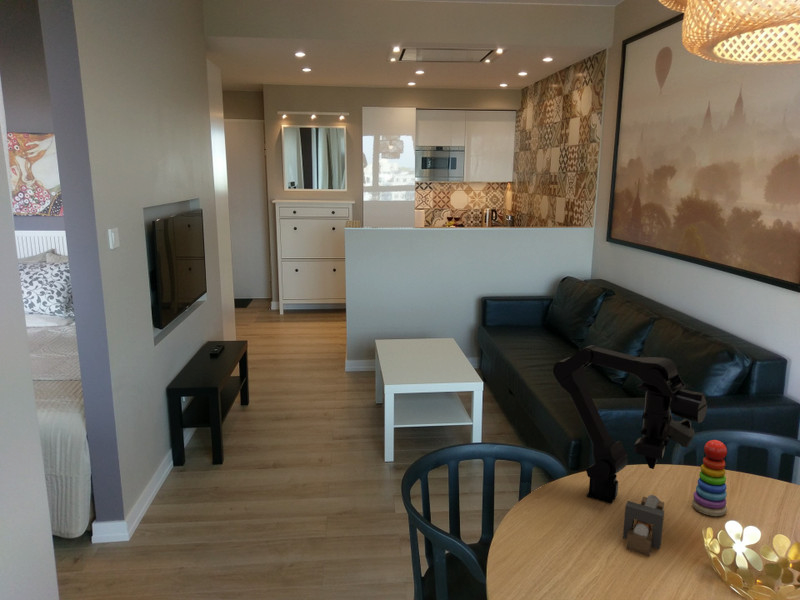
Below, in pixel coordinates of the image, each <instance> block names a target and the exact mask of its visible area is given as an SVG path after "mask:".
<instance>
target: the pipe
mask: <svg viewBox="0 0 800 600" xmlns="http://www.w3.org/2000/svg"><path fill="white" fill-rule="evenodd" d="M640 504H641V505H644V506H648V507H651V508H655V509H659V510H662V511H665V510H664V508H665V502H664V501H661V500H660V498H659V497H657V496H656V495H654V494H650V495H647V497H646V496H642V498H641V500H640ZM652 529H653V525H652V524H649V523H645V522H642V521H639V520H636V521H635V522H634V528H633V529H629V532H628V535H627V539H626V548H625V549H626V550H629V551H630V552H634V553H638V554H641V555H643V556H647V557H650V556H651V553H652V548H653V547H652V539H653V535H652V534H651V533H652Z"/></svg>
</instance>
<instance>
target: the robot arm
mask: <svg viewBox="0 0 800 600" xmlns="http://www.w3.org/2000/svg"><path fill="white" fill-rule="evenodd" d="M592 364H594V365H597V366H601V367H605V368H609V369H612V370H617V371H620V372H623V373H628V374H630V375H632V376H635V377H636V378H638V379H639V380H640V381H641V382H642V383H641V384H639V385H637V389H638V390H641V391H645V399H644V400H645V401H644V411H643V413H642V418H641V419H643V423H642V427H641V429H640V434H641V435H642V437H639V438H637V439H636V441H635V443H634V446H633V453H634V454H636V455H641V456H644V458H645V461H646V463H647V466H648V468H649V469H652V470H654V469H655V467H656V465H657V462H658V460H662V459H663V457H664V454H665V452H666V450H667V448H668V445H669V442H670V440H672V441H673V442H675V443H677V444H678V445H680V446H681V447H683V448H688V447H689V446H690V444H691V442H692V441H693V439H694V436H695V433H696V432H695V428H692V421H693V422H695V423H699V424H701V423H702V422H703V421H704V420H705V417H706V416H707V412H708V411H707V410H708V404H707V399H706V394H705V393H704V392H700V391H693V390H689V389H686V386H687V385H686V384H685V382H684V381H683V379H682V377H681V376H680V374H679V372H678V367H677V365H676V364H675V362H674V361H673V360H672V359H670V358H668V357H656V356H655V357H654V356H650V357H649V356H648V357H647V356H646V357H643V356H642V357H640V356H635V355H631V354H627V353H624V352H623V353H622V352H619V351H616V350H615V351H614V350H611V349H607V348H603V347H599V346H597V345H595V344H590V345H588V346H586V347H583V348H582V349H581V350H580V351H578V352H577V353H575V354H574V355H573V356H569V357H567V358H564V359H562V360H559V361H557V362H556V363H555V364H554V365H553V368H552V375H553V376H554V378H555V380H556V381H557V383H558V385H559V386H560V387H561V388H562V389H563V390H564V391H566V392H567V393H568V394H569V395H570V398H571V400H572V402H573V404H574V406H575V409H576V411H577V413H578V415H579V417H580V420H581V421H582V424H583V426H584V428H585V430H586V432H587V434H588V437H589V440H590V441H591V444H592V458H593V461H594V463H592V465H590V466H588V467H587V468H585V471H586V475H587V477H588V478H589V485H588V492H587V494H586V497H587V498H588V499H589V498H590V499H593V500H597V501H600V502H603V503H608V504H610V505H611V504H612V503H613V502H614V500H615V499H616V498H617V496H618V494H619V493H618V491H619V490H618V489H619V481H618V480H617V474H618V473H619V472H620V471H622V470H623V469H625V468H626V466H627V464H628V461H629V460H628V459H629V458H628V455H629V454H628V452H627V451H626V449H625V447H624V445H623V442H622V441H621V440H618V441H616V440H615V439H613V438H612V437H611V435H610V433H609V432H608V430H607V428H606V425H605V423H604V421H603V419H602V416H601V415H600V413H599V411H598V408H597V406H596V404H595V402H594V400H593V398H592V396H591V393H590V391H589V389H588V387H587V373H586V368H587V367H589V365H592ZM669 382H670V383H671V384H670V385H669ZM673 415H674V416H675V417H678V418H683V419H682V420H681V421H680V420H677V421H676V420H674V419H673Z"/></svg>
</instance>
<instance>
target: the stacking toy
mask: <svg viewBox="0 0 800 600" xmlns="http://www.w3.org/2000/svg"><path fill="white" fill-rule="evenodd" d="M703 449H704V450H703V451H704V454H705V456H704V457H703V459H702V462H703V464H701V465H700V472H699V474H698V475H699V478H698V479H697V485H696V486H695V491H694V492H693V499H692V501H691V504H692V506H693V508H694V509H695V510H696V511H697V512H699V513H702V514H704V515H707V516H712V517H721V516H724V515H725V514H727V512H728V506H727V494H728V493H727V484H726V480H727V477H726V475H725V474H726V469H725V467H726V461H725V457H726V456H727V454H728V449H727V445H725V444H724V443H723V442H722V441H720V440H717V439H711V440H708V441H707V442H706V443H705V444H704V448H703Z"/></svg>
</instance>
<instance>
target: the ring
mask: <svg viewBox="0 0 800 600" xmlns="http://www.w3.org/2000/svg"><path fill="white" fill-rule="evenodd" d="M624 509H625V510H624V519H623V521H624V522H623V529H622V530H623V532H622V538H623V539H626V540H627V535H628V532H629V529H633V530H634V529H635V528H634V526H635V520H636V521H637V520H639V521H642V522H645V523H649V524H652V529H651V535H653V539H652V548H653V549H656V550H660V548H661V545H662V538H663V537H662V535H663V526H664V520H665V519H664V517H665V510H663V511H662V510H659V509H655V508H651V507H648V506H644V505H641V503H637V502H633V501H630V500H627V502H626V504H625V508H624Z"/></svg>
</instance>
